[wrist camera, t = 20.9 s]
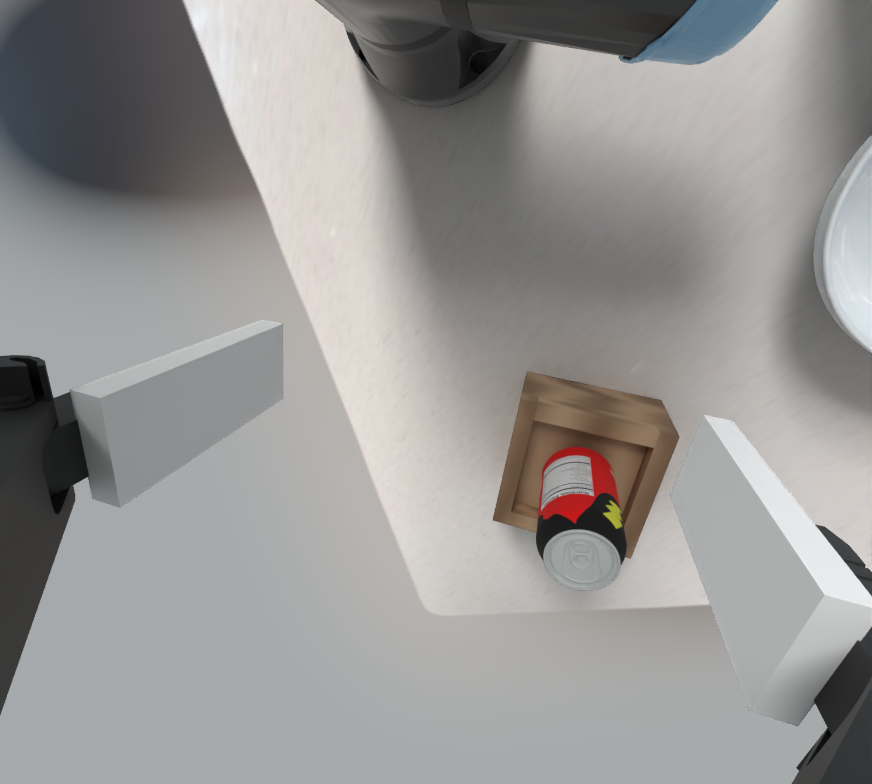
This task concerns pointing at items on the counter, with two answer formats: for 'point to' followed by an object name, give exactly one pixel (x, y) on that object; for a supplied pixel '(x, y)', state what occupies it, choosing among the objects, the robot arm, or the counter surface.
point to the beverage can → (580, 520)
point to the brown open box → (589, 428)
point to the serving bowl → (848, 249)
